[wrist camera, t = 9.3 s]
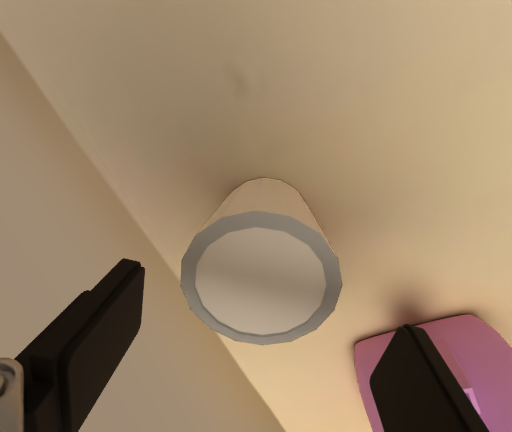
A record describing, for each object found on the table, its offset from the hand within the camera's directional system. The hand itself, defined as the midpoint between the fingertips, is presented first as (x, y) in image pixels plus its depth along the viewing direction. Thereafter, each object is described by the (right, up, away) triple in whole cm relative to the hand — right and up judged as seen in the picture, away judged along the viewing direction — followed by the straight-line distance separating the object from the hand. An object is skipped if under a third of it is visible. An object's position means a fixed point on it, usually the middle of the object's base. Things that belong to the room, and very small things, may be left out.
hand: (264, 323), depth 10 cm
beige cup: (0, +4, +8) cm, 9 cm away
